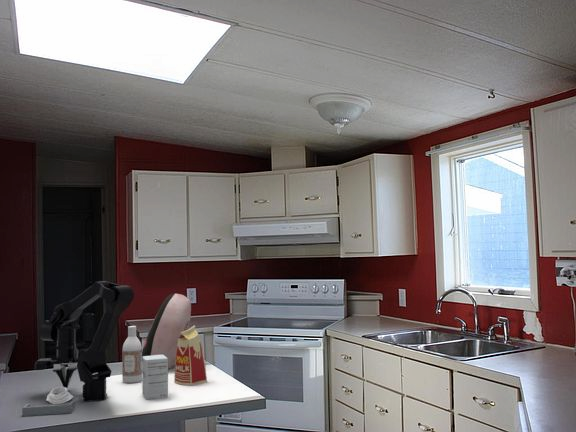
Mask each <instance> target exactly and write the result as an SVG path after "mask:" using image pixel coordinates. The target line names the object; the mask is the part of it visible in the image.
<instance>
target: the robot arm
mask: <svg viewBox="0 0 576 432" xmlns="http://www.w3.org/2000/svg"><path fill="white" fill-rule="evenodd" d="M100 298H101V299H103V300H104V301H103V302H104V307H105V311H104V313H103V315H102V318H101V319H100V322H99V325H98V327H97V330H96V332H95V335H94V337H93V340H92V342H91V345H90V346H89V347H88V348H84V349H82V350H81V351H80V353H79V349H78V348H77V344H76V329H80V328H81V326H80V325H79V324H78V323H77V321H76V320H77V319H79V317H81V315H82V314H83V310H85V309H86V308H87V307H88V306H89V305H91V304H93V303H94V302H95V301H97V300H99V299H100ZM134 298H135V293H134V290H133V288H132V287H131V286H130V285H121V284H117V283H113V282H110V281H108V280H100V281H99V280H98V281H96V282H93V283H92V285H91V286H90V287H88V288H86V289H85V290H84V291H83V292H82V293H81V292H80V294H79V295H77V296H76V297H74V298H73V299H72V300H70V301H66V302H64V303H61V304H59V305H56V306H55V307H54V309H53V312H52V314H51V316H50V318H49V320H44V321H43V324H42V325H41V326H40V328H39V330H38V337H39V339H40V340H42V341H48V342H49V341H51V342H56V351H55V352H56V355H55V356H56V360H52V357H49V358H48V357H47V358H39V359H37V360H36V361H35V363H34V371H43V370H45V369H46V368H47V367H53V369H52V372H55V373H56V375H57V376H58V378H59V380H60V382H61V384H62V387H66V388H67V389H68V388H69V385H70V382H71V379H72V376H73V374H74V372H75V371H76V370H77V373H78V376H79V381H80V382H82V383H84V384H83V385H82V399H83V402H91V401H104V400H105V399H106V398H107V397H108V393H107V378H111V376H112V372H113V371H112V369H111V368H110V366H109V365H108V364H107V360H108V359H107V353H106V352H107V348H108V346H109V343H110V341H111V338H112V336H113V334H114V331H115V330H116V327H117V324H118V322H119V320H120V317H121V315H122V314H123V313H124V312H125V310H126V309H128V308H129V307H130V305H131V303H132V302H133V301H134Z"/></svg>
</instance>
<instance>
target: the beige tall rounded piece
mask: <svg viewBox="0 0 576 432" xmlns="http://www.w3.org/2000/svg"><path fill="white" fill-rule="evenodd" d="M191 312H192V303H191V300H190V299H189V298H188V297H187V296H186V295H184V294H182V293H181V294H180V293H170V294H169V295H168V296H166V298H165V299H164V301H163V302H162V304H161V306H160V307H159V309H158V311H157V313H156V315H155V317H154V319H153V321H152V324H151V325H150V329H149V330H148V333H147V336H146V338H145V341H144V344H143V347H142V357H143V356H152V355H164V356H166V357H167V358H168V370H170V369H171V368H172V367H174V366H175V361H176V351H177V344H178V338H179V337H180V336H181V332H184V331H186V330H188V329H190V325H191V314H192V313H191Z"/></svg>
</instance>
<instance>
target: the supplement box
mask: <svg viewBox="0 0 576 432" xmlns="http://www.w3.org/2000/svg"><path fill="white" fill-rule="evenodd" d="M141 382H142V383H141V384H142V387H141V388H142V389H141V390H142V395H143V396H144V398H145V400H153V399H162V398H168V397H169V369H168V358H167V357H166V356H164V355H152V356H143V357H142V380H141Z"/></svg>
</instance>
